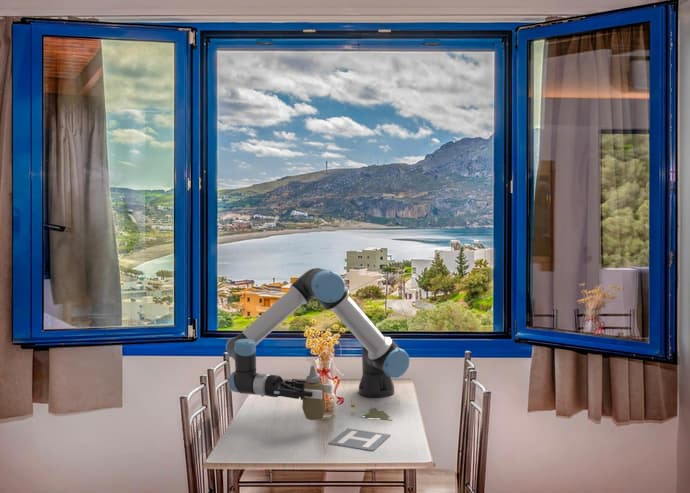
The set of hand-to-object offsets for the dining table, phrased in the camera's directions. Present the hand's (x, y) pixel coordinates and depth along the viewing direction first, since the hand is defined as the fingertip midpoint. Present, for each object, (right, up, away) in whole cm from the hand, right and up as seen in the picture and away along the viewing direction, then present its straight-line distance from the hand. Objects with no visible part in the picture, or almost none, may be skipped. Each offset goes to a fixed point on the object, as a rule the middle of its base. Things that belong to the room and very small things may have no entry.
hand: (326, 391), depth 204 cm
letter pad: (+11, -15, -4) cm, 19 cm away
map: (+18, -14, +17) cm, 29 cm away
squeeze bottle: (-4, -10, +3) cm, 11 cm away
